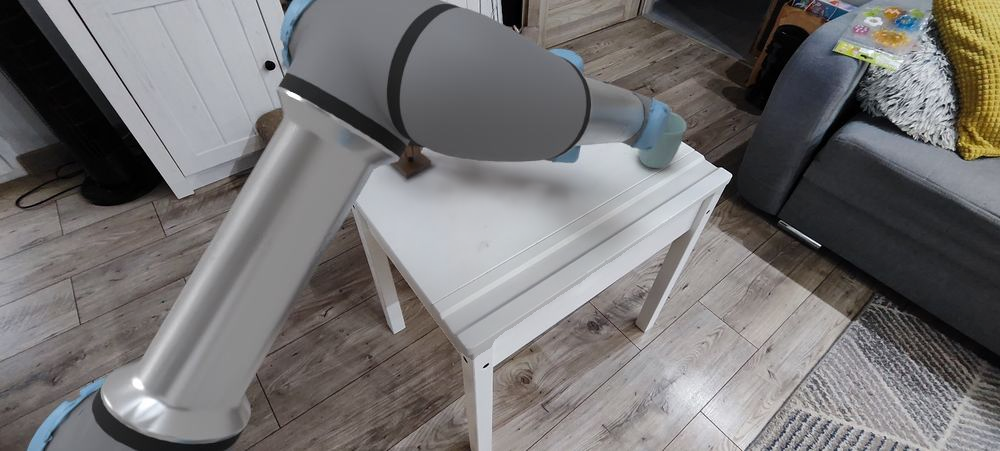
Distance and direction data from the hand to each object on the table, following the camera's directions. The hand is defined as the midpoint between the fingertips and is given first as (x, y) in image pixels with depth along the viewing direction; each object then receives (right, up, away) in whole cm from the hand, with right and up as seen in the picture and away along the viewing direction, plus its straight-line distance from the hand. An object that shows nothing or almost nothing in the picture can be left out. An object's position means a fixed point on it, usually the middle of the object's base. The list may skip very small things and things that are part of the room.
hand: (377, 112), depth 86 cm
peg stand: (+5, -9, +8) cm, 13 cm away
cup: (+56, -8, +11) cm, 57 cm away
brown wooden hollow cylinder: (+5, -6, +5) cm, 9 cm away
